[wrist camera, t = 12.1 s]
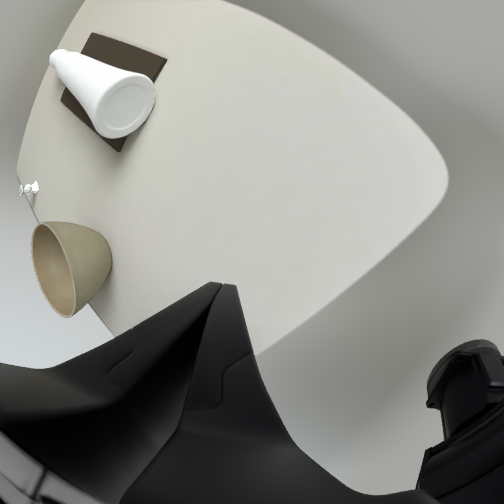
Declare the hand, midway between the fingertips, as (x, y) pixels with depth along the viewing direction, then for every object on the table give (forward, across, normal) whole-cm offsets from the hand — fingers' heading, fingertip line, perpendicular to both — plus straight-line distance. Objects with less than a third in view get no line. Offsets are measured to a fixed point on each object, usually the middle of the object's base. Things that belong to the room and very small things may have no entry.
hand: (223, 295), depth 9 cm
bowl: (+16, +18, +8) cm, 26 cm away
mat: (+18, +19, -11) cm, 28 cm away
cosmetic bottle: (+13, +11, -7) cm, 18 cm away
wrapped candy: (+21, +36, +2) cm, 42 cm away
